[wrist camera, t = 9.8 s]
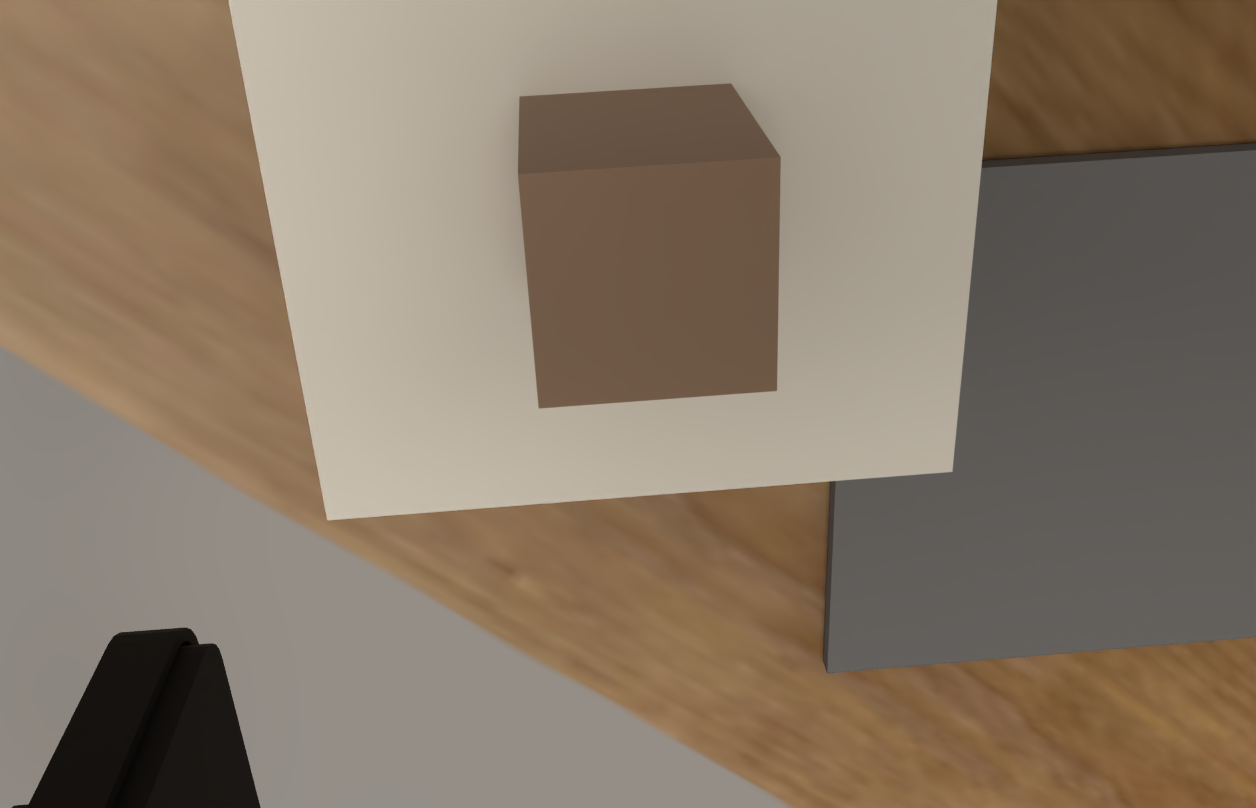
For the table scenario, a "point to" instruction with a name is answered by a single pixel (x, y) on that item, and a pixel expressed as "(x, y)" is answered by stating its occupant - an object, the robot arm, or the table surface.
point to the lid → (619, 239)
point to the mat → (1077, 429)
